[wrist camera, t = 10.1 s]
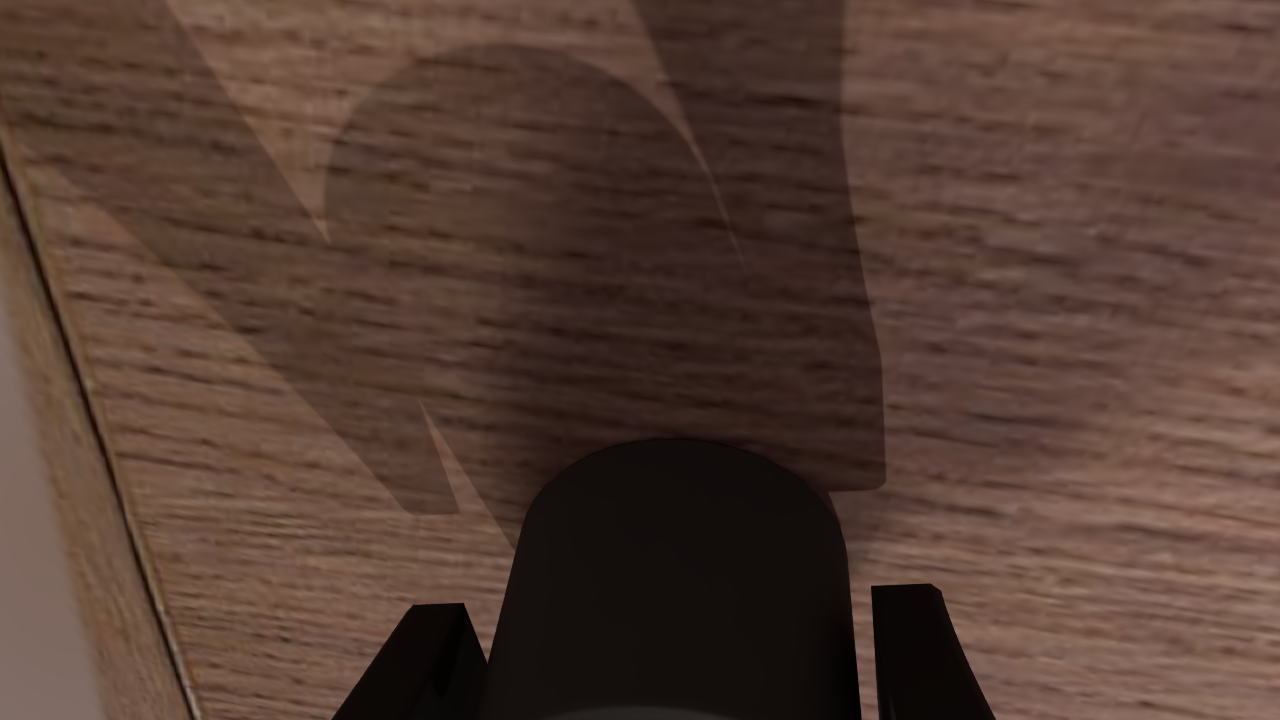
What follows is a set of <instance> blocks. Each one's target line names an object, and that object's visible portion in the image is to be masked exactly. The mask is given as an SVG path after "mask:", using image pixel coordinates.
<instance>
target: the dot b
mask: <svg viewBox="0 0 1280 720" xmlns="http://www.w3.org/2000/svg"><path fill="white" fill-rule="evenodd" d="M474 720H862V718H861V706H860V695H859V684H858V673H857V661H856V650H855V639H854V627H853V616H852V605H851V594H850V582H849V571H848V560H847V552H846V547H845V541H844V539H843V536H842V533H841V530H840V528H839V526H838V524H837V522H836V520H835V519H834V517H833V515H832V513H831V512H830V510H829V509H828V508H827V507H826V505H825V504H824V503H823V502H822V500H821V499H820V498H819V497H818V495H817V494H816V493H814V492H813V491H812V490H811V489H810V488H809V487H808V486H807V485H806V484H805V483H804V482H803V481H801V480H800V479H798V478H797V477H795V476H794V475H793V474H791V473H790V472H788V471H787V470H785V469H784V468H782V467H780V466H778V465H776V464H774V463H773V462H771V461H769V460H767V459H764V458H762V457H759V456H757V455H755V454H752V453H750V452H747V451H744V450H740V449H737V448H733V447H730V446H727V445H722V444H716V443H711V442H705V441H697V440H685V439H656V440H648V441H639V442H632V443H628V444H624V445H619V446H615V447H611V448H608V449H606V450H603V451H600V452H597V453H594V454H592V455H590V456H588V457H586V458H584V459H582V460H580V461H578V462H576V463H574V464H573V465H571V466H570V467H568V468H567V469H565V470H564V471H562V472H561V473H559V474H558V475H557V476H556V477H555V478H554V479H553V480H552V481H551V482H549V483H548V484H547V485H546V486H545V487H544V488H543V490H542V491H541V492H540V493H539V495H538V496H537V497H536V498H535V500H534V501H533V503H532V505H531V507H530V508H529V510H528V512H527V514H526V517H525V520H524V523H523V526H522V529H521V533H520V537H519V541H518V545H517V549H516V553H515V557H514V561H513V565H512V569H511V573H510V577H509V581H508V585H507V589H506V593H505V597H504V601H503V605H502V609H501V613H500V616H499V620H498V624H497V628H496V632H495V636H494V640H493V644H492V648H491V652H490V656H489V660H488V664H487V668H486V672H485V676H484V680H483V684H482V688H481V692H480V696H479V700H478V704H477V708H476V712H475V716H474Z"/></svg>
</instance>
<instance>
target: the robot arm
mask: <svg viewBox="0 0 1280 720" xmlns="http://www.w3.org/2000/svg"><path fill="white" fill-rule="evenodd" d="M871 594H872V611H873V629H874V646H875V664H876V681H877V699H878V711H879V720H996V719H995V717H994V715H993V713H992V711H991V709H990V707H989V705H988V703H987V701H986V699H985V697H984V695H983V693H982V691H981V689H980V687H979V684H978V682H977V680H976V678H975V676H974V674H973V672H972V670H971V668H970V666H969V663H968V661H967V659H966V656H965V654H964V652H963V650H962V647H961V645H960V643H959V640H958V638H957V635H956V633H955V630H954V628H953V625H952V622H951V620H950V617H949V614H948V612H947V609H946V606H945V603H944V599H943V596H942V592H941V590H939V589H938V588H936V587H935V586H933V585H932V584H906V585H881V586H871ZM486 668H487V661H486V659H485V656H484V653H483V651H482V648H481V646H480V643H479V641H478V638H477V636H476V633H475V631H474V628H473V626H472V623H471V620H470V618H469V615H468V613H467V610H466V608H465V605H464V603H448V604H424V605H413V606H412V607H411V608H410V609H409V610H408V611H407V612H406V614H405V615H404V617H403V618H402V619H401V621H400V622H399V624H398V625H397V627H396V628H395V629H394V631H393V632H392V634H391V635H390V637H389V638H388V640H387V641H386V642H385V644H384V645H383V647H382V648H381V650H380V651H379V653H378V654H377V656H376V657H375V658H374V660H373V661H372V663H371V664H370V666H369V667H368V668H367V670H366V671H365V673H364V674H363V676H362V677H361V679H360V680H359V681H358V683H357V684H356V686H355V687H354V688H353V690H352V691H351V693H350V694H349V696H348V697H347V698H346V700H345V701H344V703H343V704H342V705H341V707H340V708H339V710H338V711H337V712H336V714H335V715H334V717H333V718H332V719H331V720H474V716H475V712H476V708H477V704H478V700H479V696H480V692H481V688H482V684H483V680H484V676H485V672H486Z"/></svg>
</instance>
